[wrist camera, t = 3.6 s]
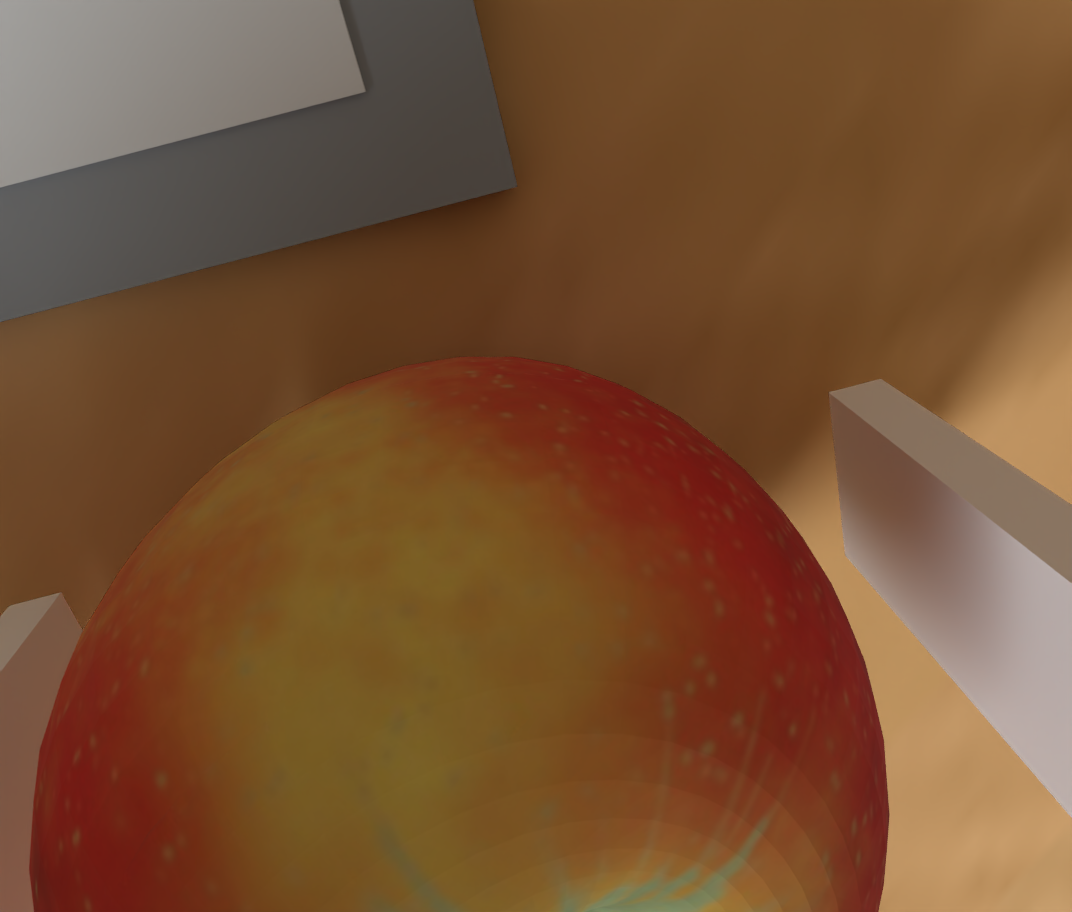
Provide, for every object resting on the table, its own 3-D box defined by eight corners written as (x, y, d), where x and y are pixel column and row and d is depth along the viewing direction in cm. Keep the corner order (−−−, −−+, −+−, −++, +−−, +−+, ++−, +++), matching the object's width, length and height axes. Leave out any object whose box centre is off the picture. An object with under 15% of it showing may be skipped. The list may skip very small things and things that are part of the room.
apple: (82, 456, 12) (-958, 1515, 3) (575, 169, 11) (1106, 485, 2) (387, 807, 15) (307, 1847, 6) (793, 603, 15) (1382, 1468, 5)
